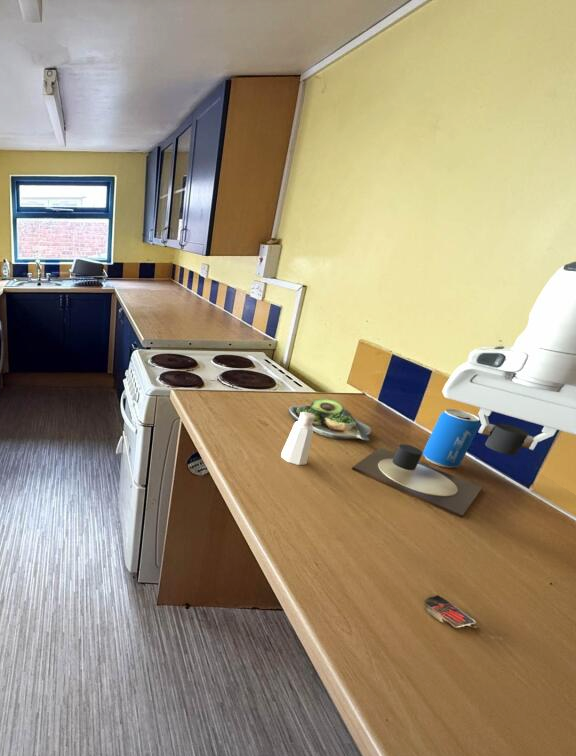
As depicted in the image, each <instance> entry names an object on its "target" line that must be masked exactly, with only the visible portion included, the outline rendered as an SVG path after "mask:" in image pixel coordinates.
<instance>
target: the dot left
mask: <svg viewBox="0 0 576 756" xmlns="http://www.w3.org/2000/svg"><path fill="white" fill-rule="evenodd" d="M395 453H396V454H395V456H394V458H393V461H392V462H393V463H394V464H395V465H397V466H398V467H401V468H403V469H407V470H414V469H415V468H416V466H417V464H418V462H419V463H420V459H421V457H422V455H423V451H422V450H421V449H419V448H417V446H416V447H415V446H413V445H410V444H404V443H402V444H399V445H398V447H397V449H396V451H395Z"/></svg>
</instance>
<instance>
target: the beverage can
mask: <svg viewBox="0 0 576 756" xmlns="http://www.w3.org/2000/svg"><path fill="white" fill-rule="evenodd" d="M479 421H480V418H479V416H477V415H475V414H473V413H471V412H467V411H464V410H459V409H455V408H446V409H445V410H444V411H443V412H441V413H440V414H439V416H438V418H437V421H436V423H435V425H434V427H433V429H432V432H431V433H430V436H429V438H428V440H427V442H426V445H425V447H424V449H423V451H422V455H423V457H424V458H425V460H427V461H428V462H429V463H431V464H434V465H435V466H439V467H443V468H447V469H452V468H458V467H460V466H461V464H462V462H463V460H464V458H465V456H466V453H467V452H468V450H469V448H470V446H471V444H472V443H473V440H474V438H475V436H476V434H477V432H478V431H479V429H480V427H481V422H479Z"/></svg>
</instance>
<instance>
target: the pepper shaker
mask: <svg viewBox="0 0 576 756" xmlns="http://www.w3.org/2000/svg"><path fill="white" fill-rule="evenodd" d="M314 419H315V416H314V415H313V414H311V413H308V412H301V413H300V417H299V421H295V422H294V424H293V426H292V429H291V431H290V433H289V435H288V438H287V439H286V442H285V444H284V446H283V448H282V451H281V454H280V457H281V458H282V459H283V460H285V461H286V462H288V463H290V464H292V465H296V466H302V465H307V464H308V459H309V455H310V450H311V445H312V440H313V434H314V431H313V425H312V423H313V421H314Z"/></svg>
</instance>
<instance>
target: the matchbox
mask: <svg viewBox="0 0 576 756" xmlns="http://www.w3.org/2000/svg"><path fill="white" fill-rule="evenodd" d="M423 603H424V604H426V606H425V607H424V608H425V609H424V610H425V611H427V613H428V614H429V615H430V616H432V617H433V618H435V619H436V620H437V621H439V622H441V623H444V621H445V622H446V623H448V624H449V625H451V626H452V627H454V628H458V629H459V628H461V627H465V626H468V627H471V628H473V629H477V628H478V627H479V624H476V623H477V621H476V620H475V619H474V618H472V617H471V616H469V615H468V613H466V612H464V611H462V610H461V609H459V608H458V607H457V606H456V605H455V604H454V603H453V602H451V601H449V600H447V599H445V598H443V597H442V596H440V595H439V594H435V595H432V596H428V597H427V598H426V599H425V600H424V601H423Z"/></svg>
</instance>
